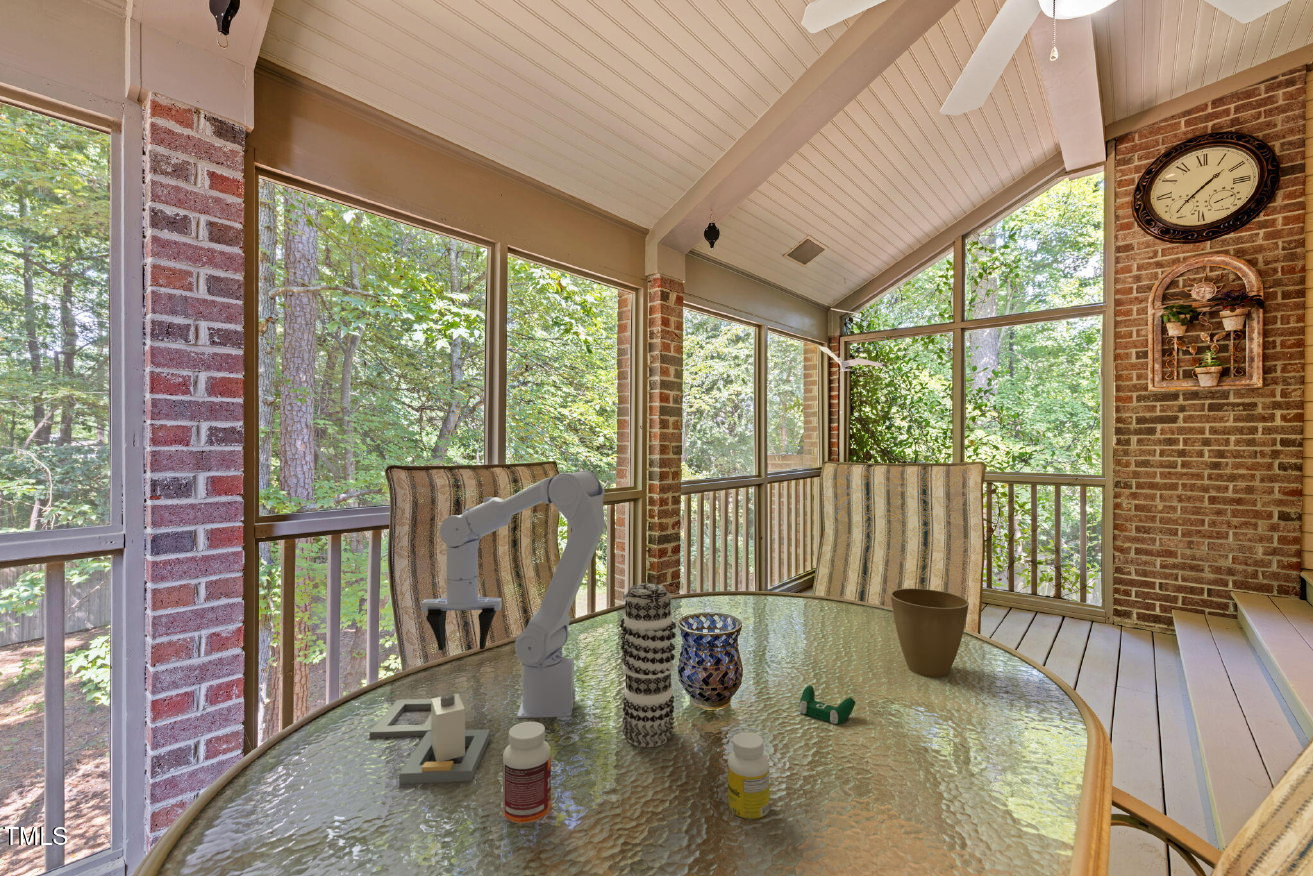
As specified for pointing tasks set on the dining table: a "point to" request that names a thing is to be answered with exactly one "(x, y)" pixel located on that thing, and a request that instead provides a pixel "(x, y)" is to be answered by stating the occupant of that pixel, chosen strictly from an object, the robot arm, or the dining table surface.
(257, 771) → the dining table surface
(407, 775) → the port
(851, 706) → the gaming controller
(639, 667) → the decorative candle
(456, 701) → the plug
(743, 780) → the supplement bottle
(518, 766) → the pill bottle
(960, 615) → the plant pot
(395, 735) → the square frame plate
